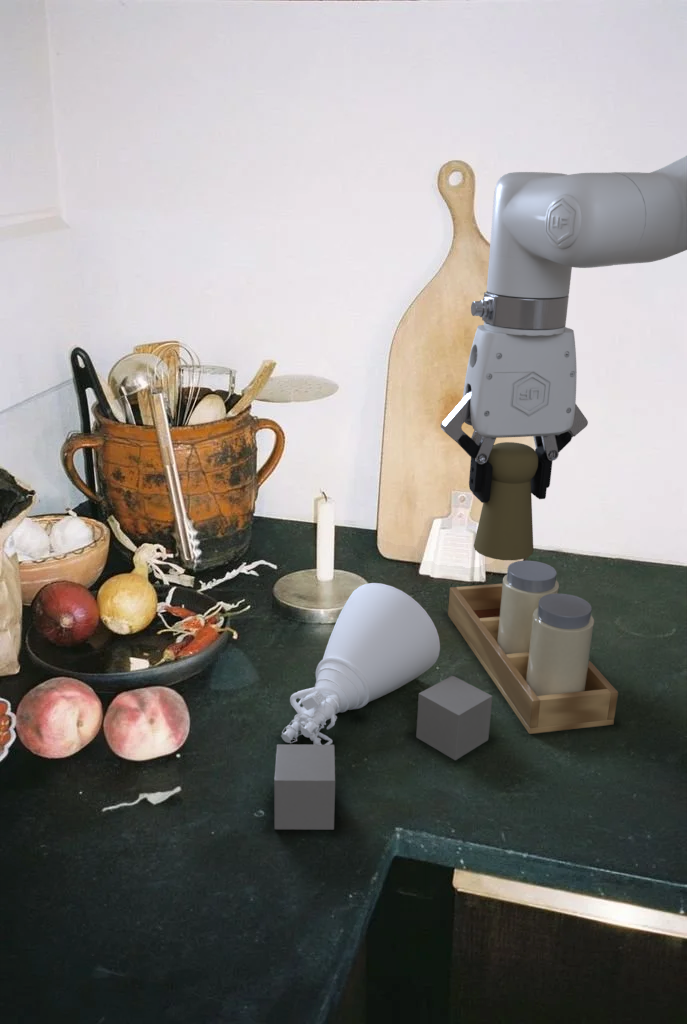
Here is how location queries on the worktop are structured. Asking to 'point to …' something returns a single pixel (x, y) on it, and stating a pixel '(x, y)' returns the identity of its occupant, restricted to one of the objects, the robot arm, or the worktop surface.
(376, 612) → the rocket engine
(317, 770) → the grey block
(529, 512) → the olive pepper mill
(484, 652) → the spice rack
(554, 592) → the cream shaker
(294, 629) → the worktop surface
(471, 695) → the grey block
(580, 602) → the cream shaker
